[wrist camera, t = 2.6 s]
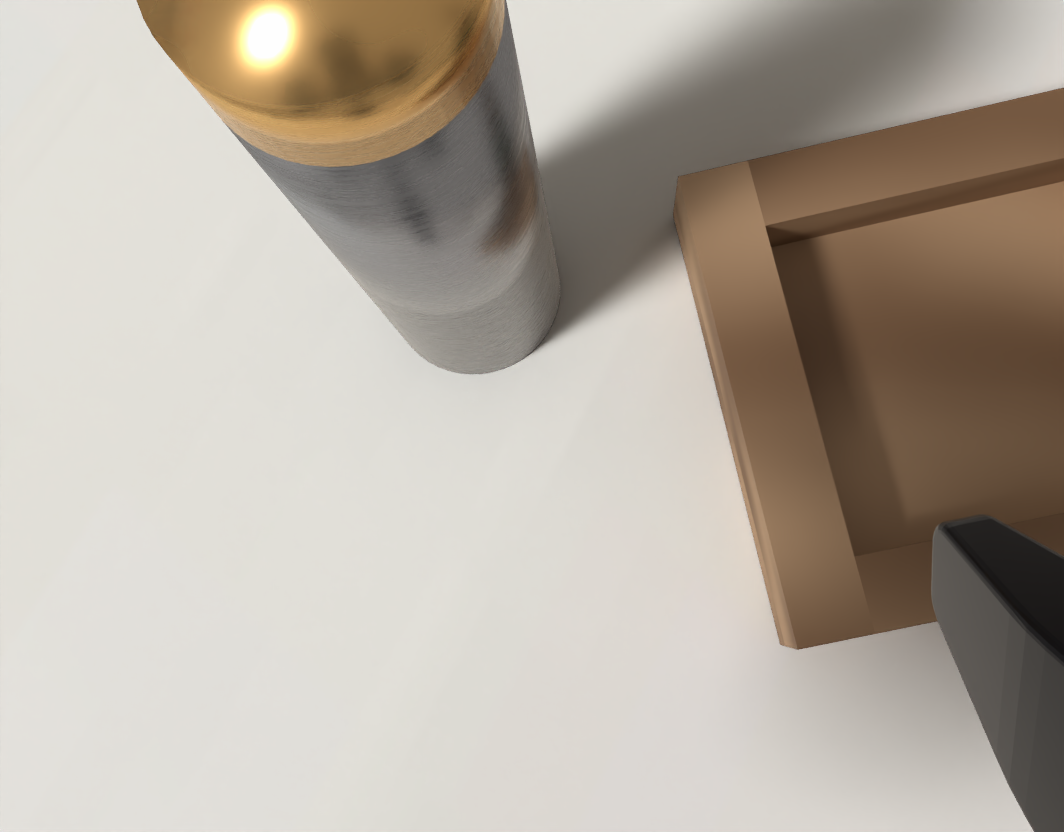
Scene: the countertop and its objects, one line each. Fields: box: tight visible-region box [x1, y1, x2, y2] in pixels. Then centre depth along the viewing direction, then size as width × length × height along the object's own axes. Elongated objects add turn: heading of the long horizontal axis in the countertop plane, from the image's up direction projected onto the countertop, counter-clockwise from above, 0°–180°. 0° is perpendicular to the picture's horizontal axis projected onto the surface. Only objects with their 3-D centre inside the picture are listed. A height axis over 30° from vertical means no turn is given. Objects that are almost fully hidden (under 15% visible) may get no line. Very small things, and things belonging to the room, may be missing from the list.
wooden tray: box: [673, 88, 1064, 650], centre depth 20 cm, size 10×10×2 cm
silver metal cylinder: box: [137, 0, 560, 374], centre depth 17 cm, size 4×4×12 cm
